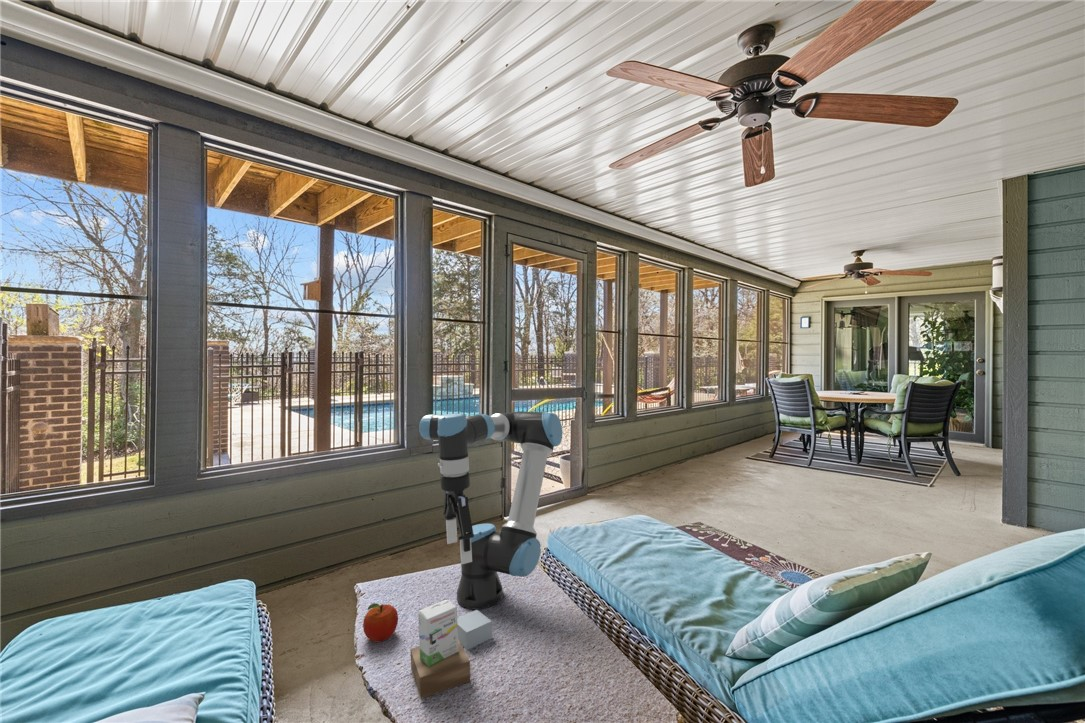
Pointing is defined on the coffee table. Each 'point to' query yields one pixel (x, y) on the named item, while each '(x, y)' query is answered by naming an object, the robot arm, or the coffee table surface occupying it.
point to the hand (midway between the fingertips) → (459, 552)
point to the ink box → (438, 632)
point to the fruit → (380, 622)
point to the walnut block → (440, 672)
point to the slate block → (473, 629)
